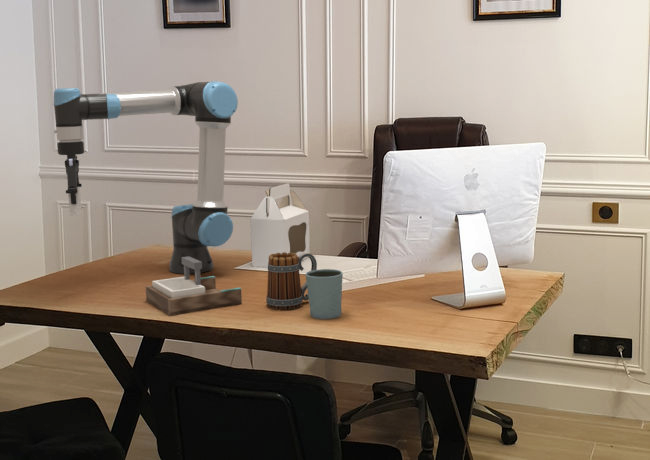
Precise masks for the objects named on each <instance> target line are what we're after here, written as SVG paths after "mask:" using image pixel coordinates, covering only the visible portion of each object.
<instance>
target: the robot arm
mask: <svg viewBox="0 0 650 460" xmlns="http://www.w3.org/2000/svg"><path fill="white" fill-rule="evenodd" d="M238 103H239V99H238V96H237V93H236V92H235V90H234V88H233V87H232V86H230V84H228V83H225V82H222V81H217V80H216V81H213V80H211V81H199V82H193V83H189V84H184V85H183V84H181V85H175V86H169V88H168V89H160V90H159V89H158V90H141V91H124V92H123V91H120V92H103V93H102V92H99V93H83V94H82V93H81V91H80V88H77V87H74V88H73V87H72V88H71V87H70V88H68V87H67V88H56V89H54V90H53V108H54V118H55V130H54V131H53V133H54V134H56V139H57V141H59V142H57V143H56V147H57V155H59V156H66V159H65V161H64V167H65V174H66V177H67V190H65V194H68V195H67V196H68V206H69V207H68V208H69V216H80V214H81V213H80V209H82V202H81V189H80V188H82V186H83V185H82V183H80V180H79V179H80V178H79V173H80V172H79V171H80V170H79V169H80V160H79V159H78V156H77V155H83V154H84V153H85V146H84V145H85V143H84V142H83V140H84V129H83V121H88V120H93V121H94V120H111V119H112V120H113V119H117V118H118V117H122V116H126V117H127V116H139V115H140V116H141V115H151V114H152V115H154V114H168V113H169V114H171V115H172V116H188V117H189V116H190V117H195V119H194V120H195V121H194V122H195V124H196V125H197V127H199V132H198V133H199V134H198V135H199V137H198V138H199V139H198V141H199V142H198V165H197V167H198V168H197V170H198V173H197V176H198V177H197V197H196V201H195V202H194V203H193V204H182V205H181V204H180V205H175V206H173V207H172V209H171V217H170V218H171V227H172V242H173V243H172V244H173V245H172V247H173V250H172V253H171V256H170V260H169V267H168V268H169V272H170V273H173V274H180V275H181V274H183V275H184V265H183V264H182V259H181V257H188V256H189V257H192V258H194V259H196V260H199V261H201V262H202V269H200V274H201V273H205V272H206V273H207V272H210V271H212V270H213V269H214V262H213V259H212V256H211V253H210V251H209V249H208V247H213V248H215V247H216V248H217V247H221V246H223V245H224V244H225V243H227V242H228V241H229V240H230V238H231V237H232V234H233V231H234V223H233V220H232V218H231V217H230V216H229V214H228V205H227V203H226V202H225V201H224V188H225V186H224V185H225V162H226V159H225V157H226V137H227V136H226V135H227V133H226V132H227V129H228V127H229V126H230V125H231V124H232V121H231V119H232V116H233V115H234V113H236V111H237V109H238V105H239V104H238ZM189 274H193V275H194V274H195V270H194V269H192V268H189Z"/></svg>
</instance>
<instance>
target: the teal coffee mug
mask: <svg viewBox="0 0 650 460" xmlns="http://www.w3.org/2000/svg"><path fill="white" fill-rule="evenodd" d="M343 274H344V273H343V271H342V270H339V269H331V268H321V269H317V270H313V271H311V270H309V271H307V272H305V282H307V289H306V291H307V294H308V296H309V297H308V298H309V300H308V303H309V315H310V317H311V318H313V319H317V320H332V319H337V318H339V317H341V316H342V300H343V299H342V298H343V297H342V296H343V294H342V293H343Z"/></svg>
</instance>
